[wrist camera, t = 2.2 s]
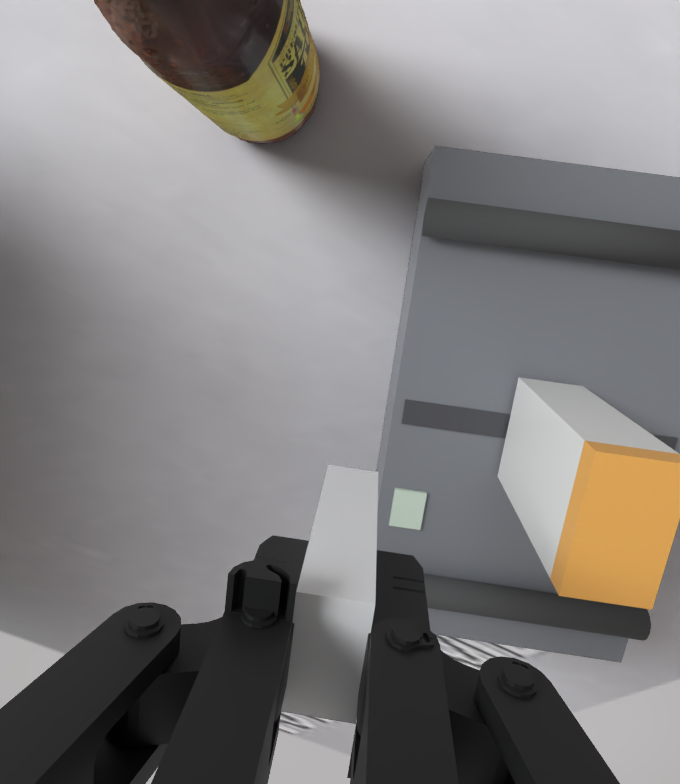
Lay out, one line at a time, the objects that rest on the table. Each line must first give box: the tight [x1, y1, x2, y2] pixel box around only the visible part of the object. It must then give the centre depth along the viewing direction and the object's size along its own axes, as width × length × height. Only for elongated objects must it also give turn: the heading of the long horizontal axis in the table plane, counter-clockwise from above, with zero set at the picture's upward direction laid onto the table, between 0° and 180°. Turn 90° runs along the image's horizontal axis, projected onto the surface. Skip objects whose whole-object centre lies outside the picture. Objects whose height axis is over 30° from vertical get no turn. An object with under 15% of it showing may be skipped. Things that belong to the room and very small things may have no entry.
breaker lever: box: [498, 377, 680, 610], centre depth 23 cm, size 3×5×10 cm, turn 172°
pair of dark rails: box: [422, 198, 680, 640], centre depth 27 cm, size 14×20×2 cm
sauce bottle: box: [94, 0, 320, 143], centre depth 21 cm, size 6×6×20 cm
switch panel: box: [376, 146, 680, 662], centre depth 31 cm, size 14×24×6 cm, turn 172°
